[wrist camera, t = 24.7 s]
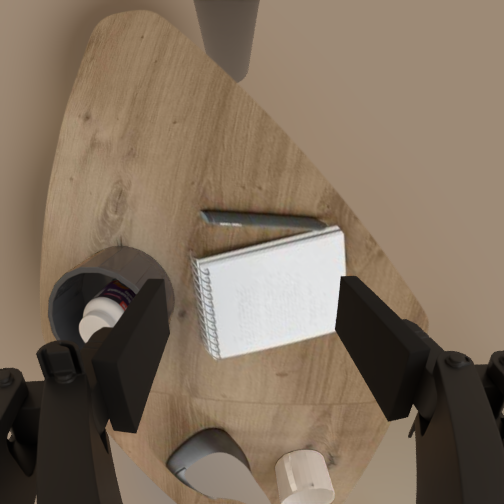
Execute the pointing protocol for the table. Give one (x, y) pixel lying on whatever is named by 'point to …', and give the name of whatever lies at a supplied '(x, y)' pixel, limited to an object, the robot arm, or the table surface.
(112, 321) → the pill bottle
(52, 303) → the canister
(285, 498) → the mug
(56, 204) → the table surface
